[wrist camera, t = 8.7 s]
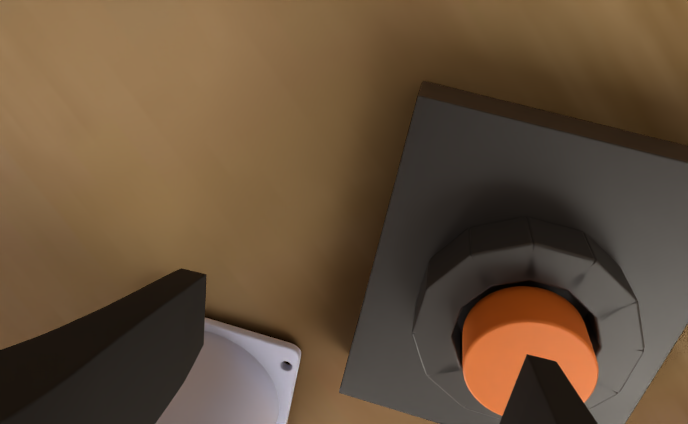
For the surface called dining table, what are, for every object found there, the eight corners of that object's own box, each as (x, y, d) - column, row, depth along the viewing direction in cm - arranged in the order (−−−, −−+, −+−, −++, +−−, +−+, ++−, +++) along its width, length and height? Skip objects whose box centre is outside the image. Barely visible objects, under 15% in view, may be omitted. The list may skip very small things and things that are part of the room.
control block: (583, 426, 22) (607, 516, 18) (349, 356, 23) (328, 429, 19) (738, 158, 16) (815, 211, 13) (422, 80, 17) (412, 110, 14)
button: (558, 394, 17) (568, 437, 15) (448, 361, 17) (447, 400, 16) (606, 304, 15) (622, 342, 14) (483, 270, 16) (485, 304, 14)
